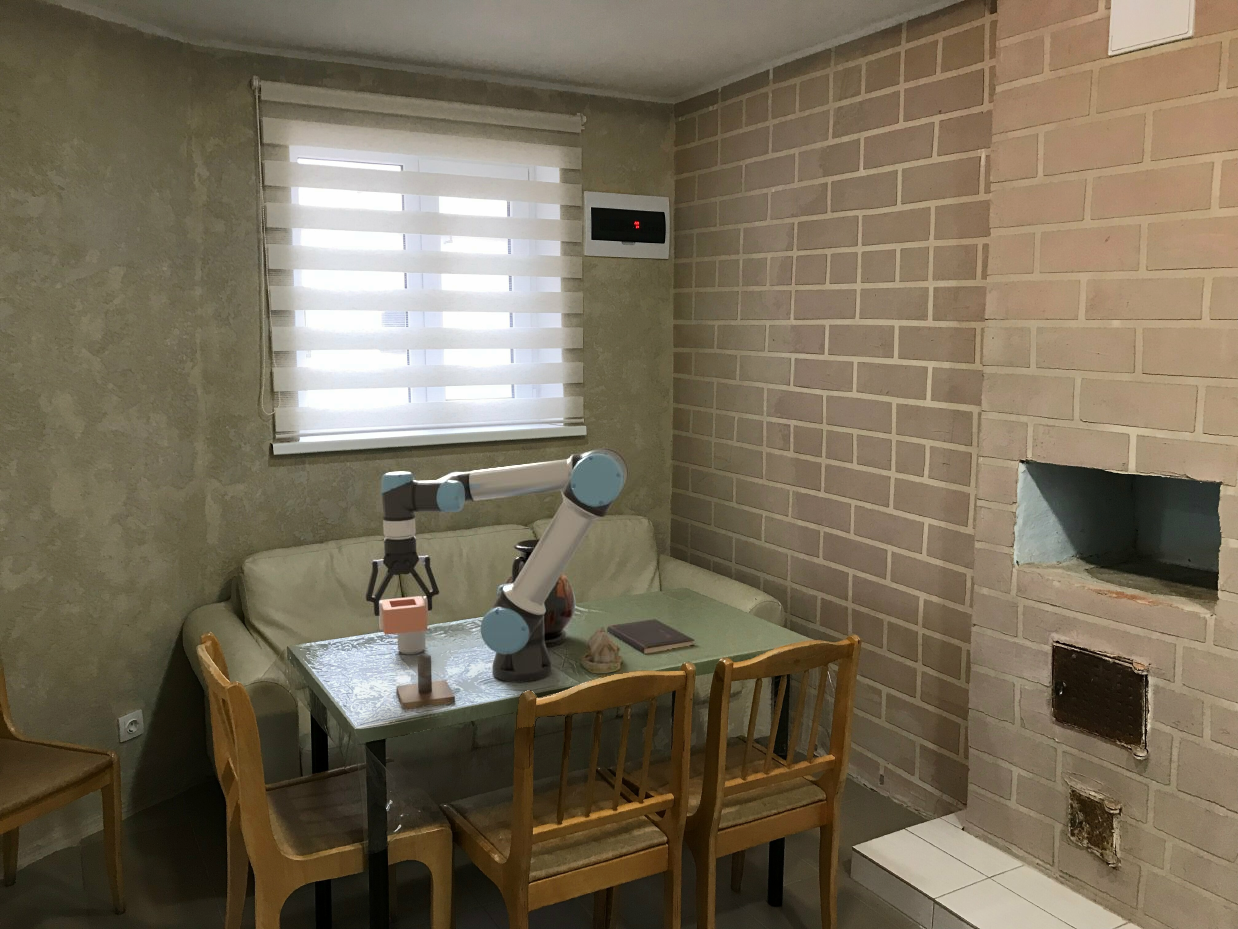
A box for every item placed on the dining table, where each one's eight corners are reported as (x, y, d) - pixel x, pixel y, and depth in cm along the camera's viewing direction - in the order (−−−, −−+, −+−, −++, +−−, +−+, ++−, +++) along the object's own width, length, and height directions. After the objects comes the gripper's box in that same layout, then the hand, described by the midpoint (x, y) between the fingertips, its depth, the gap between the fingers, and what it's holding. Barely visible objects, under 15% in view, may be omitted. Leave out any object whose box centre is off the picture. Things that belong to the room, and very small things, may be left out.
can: (411, 645, 272) (409, 603, 270) (431, 649, 268) (430, 607, 266) (392, 652, 265) (390, 609, 264) (412, 657, 261) (411, 613, 260)
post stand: (446, 685, 239) (445, 646, 238) (455, 702, 228) (453, 661, 226) (396, 692, 235) (395, 652, 234) (403, 709, 224) (401, 667, 222)
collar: (422, 619, 243) (421, 596, 242) (427, 630, 233) (426, 606, 232) (381, 623, 239) (380, 600, 239) (384, 634, 230) (383, 610, 229)
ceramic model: (578, 658, 260) (577, 621, 259) (619, 655, 262) (619, 619, 261) (585, 675, 246) (585, 637, 245) (628, 672, 248) (628, 634, 247)
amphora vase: (541, 657, 260) (539, 554, 257) (484, 642, 273) (481, 545, 270) (591, 637, 277) (590, 541, 274) (535, 625, 290) (533, 533, 287)
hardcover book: (655, 626, 290) (655, 619, 290) (694, 647, 270) (694, 639, 269) (606, 633, 283) (606, 626, 283) (643, 656, 263) (643, 647, 262)
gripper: (444, 529, 241) (448, 617, 243) (350, 537, 234) (355, 626, 236) (449, 535, 234) (452, 625, 236) (352, 542, 227) (357, 635, 229)
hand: (404, 626), depth 236 cm, fingers closed on collar, 10 cm apart
